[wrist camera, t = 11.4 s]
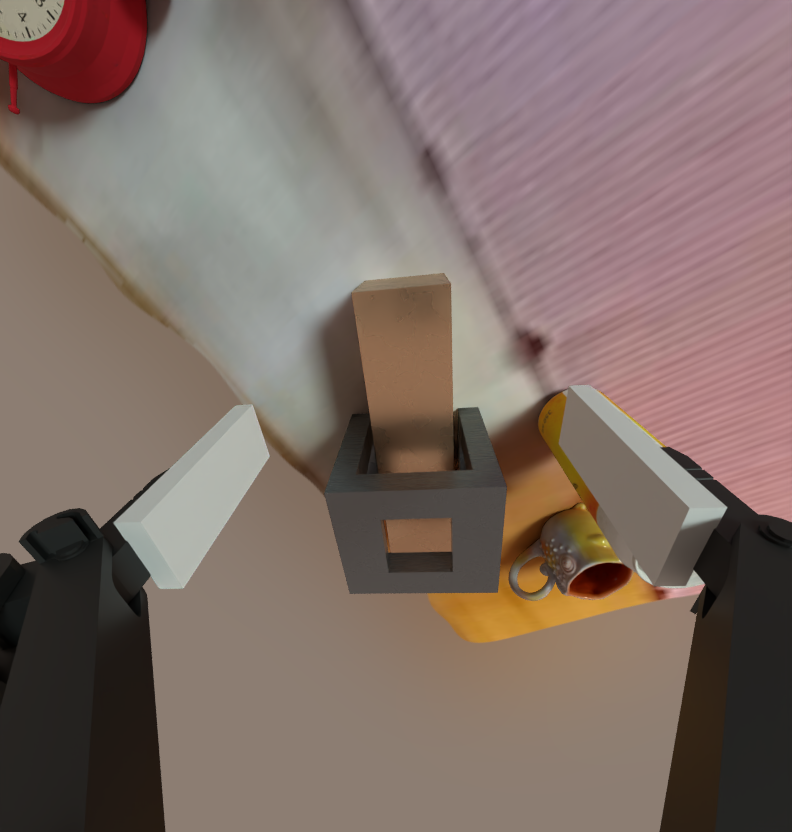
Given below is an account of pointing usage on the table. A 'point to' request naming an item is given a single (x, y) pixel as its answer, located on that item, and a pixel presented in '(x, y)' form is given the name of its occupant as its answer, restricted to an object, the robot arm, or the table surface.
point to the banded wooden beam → (409, 388)
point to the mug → (573, 558)
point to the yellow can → (551, 432)
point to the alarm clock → (73, 45)
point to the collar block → (418, 514)
